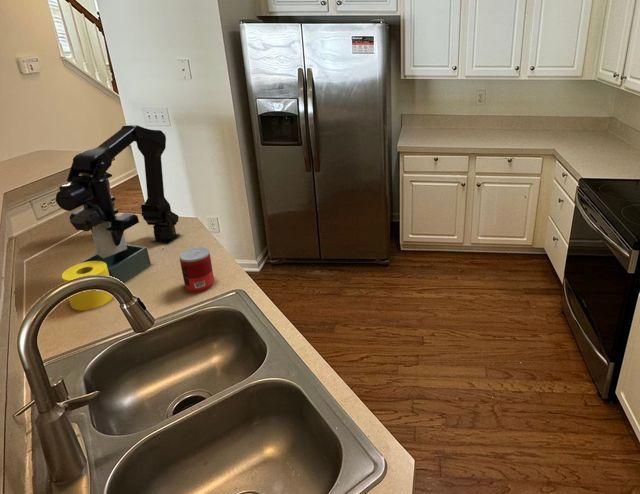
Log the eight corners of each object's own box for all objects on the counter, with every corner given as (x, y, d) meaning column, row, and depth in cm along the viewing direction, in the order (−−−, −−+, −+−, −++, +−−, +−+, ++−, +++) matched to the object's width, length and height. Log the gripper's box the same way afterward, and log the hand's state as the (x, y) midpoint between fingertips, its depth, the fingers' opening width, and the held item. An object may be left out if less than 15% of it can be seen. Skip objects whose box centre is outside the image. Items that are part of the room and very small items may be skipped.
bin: (120, 260, 140) (116, 242, 138) (151, 265, 138) (147, 247, 135) (82, 283, 128) (77, 264, 125) (115, 289, 125) (110, 269, 123)
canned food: (220, 280, 131) (215, 249, 127) (200, 295, 124) (194, 262, 120) (199, 275, 133) (194, 244, 129) (179, 289, 126) (172, 257, 122)
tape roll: (61, 306, 117) (52, 277, 114) (94, 286, 126) (86, 258, 123) (92, 313, 115) (83, 283, 112) (122, 291, 124) (115, 263, 121)
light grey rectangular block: (127, 248, 132) (120, 219, 128) (103, 258, 126) (95, 228, 123) (121, 245, 134) (113, 216, 130) (97, 254, 128) (89, 224, 124)
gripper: (44, 203, 118) (60, 253, 124) (101, 211, 114) (114, 262, 120) (81, 189, 128) (94, 235, 134) (134, 195, 124) (145, 243, 130)
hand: (111, 244), depth 129 cm, fingers closed on light grey rectangular block, 4 cm apart
